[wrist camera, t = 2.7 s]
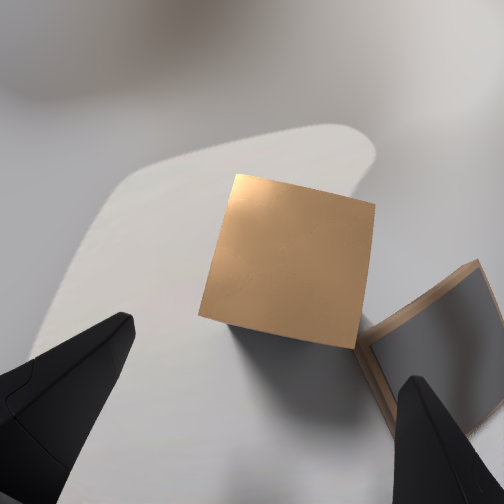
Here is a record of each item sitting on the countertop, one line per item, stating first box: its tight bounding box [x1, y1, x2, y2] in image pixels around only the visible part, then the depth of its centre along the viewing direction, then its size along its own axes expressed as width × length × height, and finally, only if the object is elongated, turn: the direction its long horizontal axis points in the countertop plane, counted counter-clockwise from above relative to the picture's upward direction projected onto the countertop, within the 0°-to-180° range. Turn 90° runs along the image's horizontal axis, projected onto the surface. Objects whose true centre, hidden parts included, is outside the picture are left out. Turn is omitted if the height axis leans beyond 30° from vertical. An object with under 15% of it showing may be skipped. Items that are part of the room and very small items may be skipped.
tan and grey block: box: [198, 174, 375, 349], centre depth 15 cm, size 6×6×9 cm
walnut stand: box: [352, 259, 504, 441], centre depth 16 cm, size 11×11×2 cm
